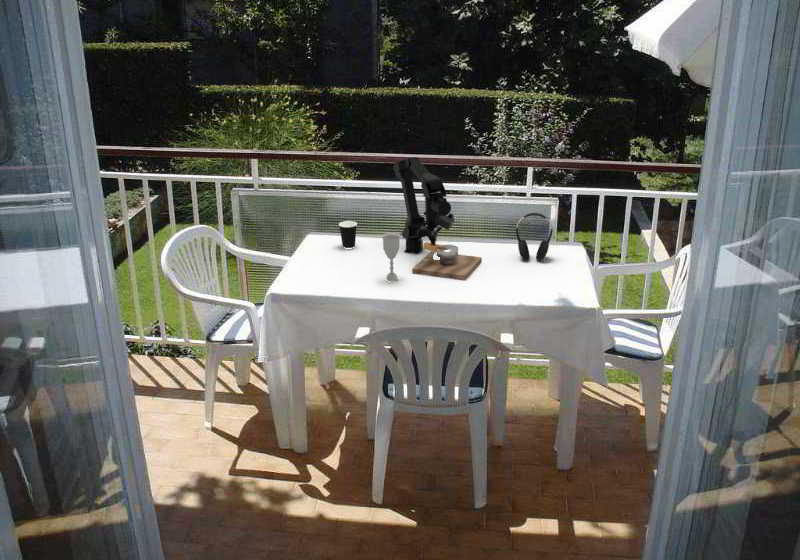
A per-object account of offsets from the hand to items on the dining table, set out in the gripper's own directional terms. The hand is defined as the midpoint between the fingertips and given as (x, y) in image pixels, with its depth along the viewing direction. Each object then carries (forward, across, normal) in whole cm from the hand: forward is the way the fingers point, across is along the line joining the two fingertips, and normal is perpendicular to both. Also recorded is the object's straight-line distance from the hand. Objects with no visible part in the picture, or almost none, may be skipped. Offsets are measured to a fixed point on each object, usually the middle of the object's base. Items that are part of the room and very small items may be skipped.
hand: (433, 245), depth 315 cm
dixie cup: (+7, +2, +41) cm, 42 cm away
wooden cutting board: (+7, -4, -7) cm, 11 cm away
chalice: (+6, -24, +7) cm, 26 cm away
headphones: (+9, +19, -36) cm, 42 cm away
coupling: (+2, -3, -4) cm, 5 cm away
